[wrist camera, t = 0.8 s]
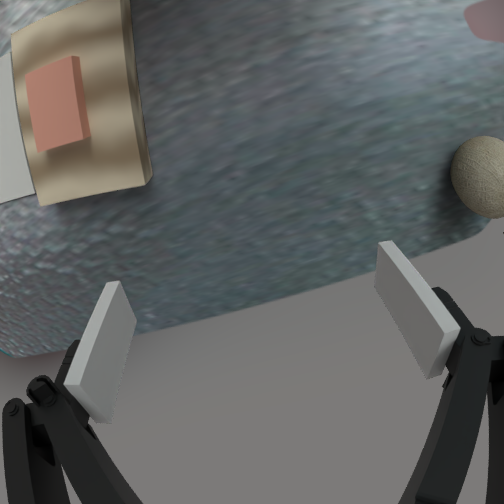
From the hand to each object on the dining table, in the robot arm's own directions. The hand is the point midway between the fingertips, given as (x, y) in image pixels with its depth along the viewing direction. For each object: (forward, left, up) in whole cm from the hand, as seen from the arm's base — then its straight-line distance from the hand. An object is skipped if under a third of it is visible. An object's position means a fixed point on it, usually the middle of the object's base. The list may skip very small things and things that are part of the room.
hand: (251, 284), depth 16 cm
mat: (-12, -33, -23) cm, 42 cm away
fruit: (+1, +32, -24) cm, 40 cm away
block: (-12, -18, -19) cm, 29 cm away
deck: (-12, -17, -23) cm, 31 cm away
